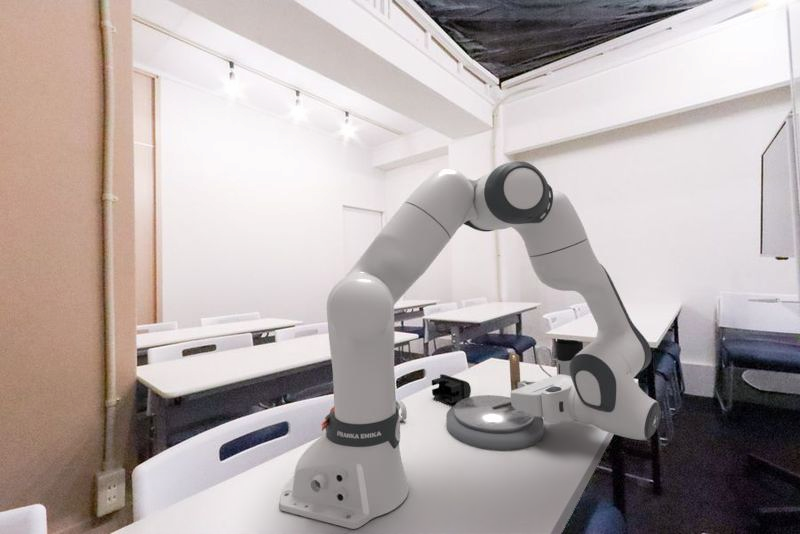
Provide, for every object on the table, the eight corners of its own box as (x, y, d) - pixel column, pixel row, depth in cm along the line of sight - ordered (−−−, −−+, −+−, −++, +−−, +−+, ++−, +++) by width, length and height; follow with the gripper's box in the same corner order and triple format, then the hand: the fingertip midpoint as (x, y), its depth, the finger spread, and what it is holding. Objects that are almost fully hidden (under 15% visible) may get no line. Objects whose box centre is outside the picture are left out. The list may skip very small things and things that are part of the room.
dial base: (444, 447, 76) (443, 435, 76) (448, 407, 98) (448, 397, 98) (555, 452, 71) (554, 439, 71) (533, 409, 94) (532, 399, 94)
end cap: (471, 402, 102) (470, 379, 102) (454, 408, 97) (453, 384, 98) (448, 393, 110) (447, 372, 110) (431, 399, 105) (430, 377, 106)
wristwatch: (400, 415, 94) (399, 397, 94) (409, 422, 90) (408, 402, 90) (390, 418, 93) (389, 399, 93) (399, 425, 88) (398, 405, 88)
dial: (490, 440, 72) (486, 376, 72) (439, 410, 89) (436, 358, 89) (552, 419, 81) (548, 361, 81) (495, 395, 98) (492, 348, 98)
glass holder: (591, 396, 101) (588, 345, 101) (539, 394, 105) (537, 345, 105) (583, 386, 110) (581, 339, 110) (536, 385, 113) (533, 339, 114)
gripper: (596, 374, 82) (544, 364, 94) (542, 395, 71) (492, 380, 83) (598, 401, 82) (546, 387, 93) (545, 426, 71) (494, 407, 82)
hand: (520, 384), depth 88 cm, fingers closed, pressing on dial
